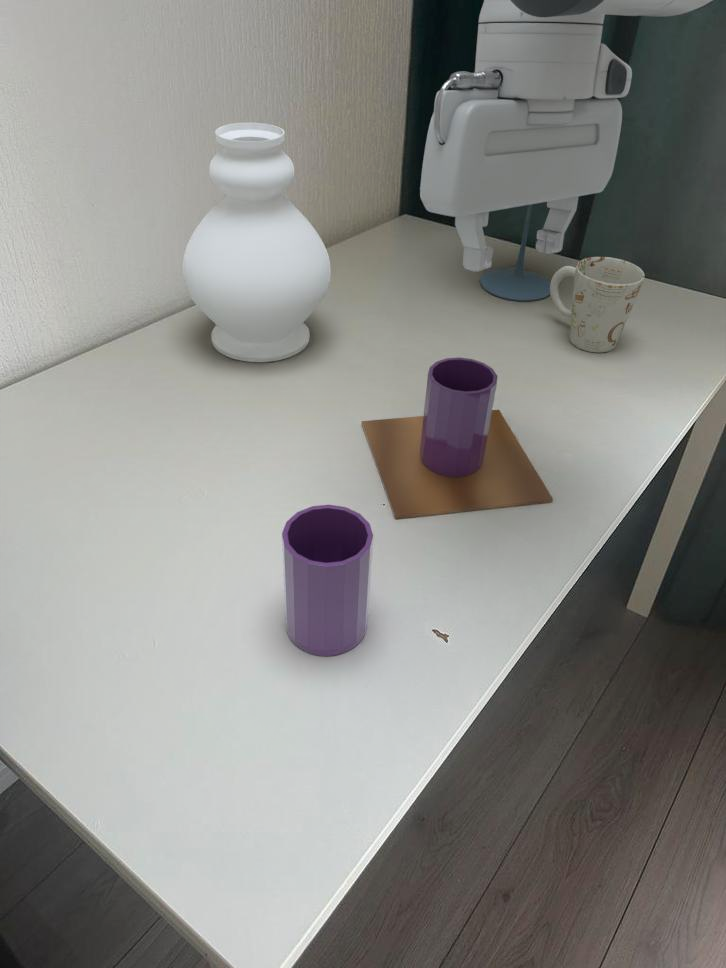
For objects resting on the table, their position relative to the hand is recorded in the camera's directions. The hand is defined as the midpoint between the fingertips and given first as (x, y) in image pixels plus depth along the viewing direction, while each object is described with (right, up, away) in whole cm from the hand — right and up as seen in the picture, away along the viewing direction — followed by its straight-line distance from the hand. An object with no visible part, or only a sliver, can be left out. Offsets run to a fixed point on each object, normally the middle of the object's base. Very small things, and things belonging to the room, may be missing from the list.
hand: (514, 260), depth 64 cm
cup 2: (-3, -16, +17) cm, 23 cm away
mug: (+16, +1, +40) cm, 43 cm away
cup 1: (-15, -30, -1) cm, 34 cm away
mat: (-3, -16, +17) cm, 24 cm away
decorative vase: (-26, 0, +36) cm, 44 cm away
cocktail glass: (+10, +11, +51) cm, 53 cm away
